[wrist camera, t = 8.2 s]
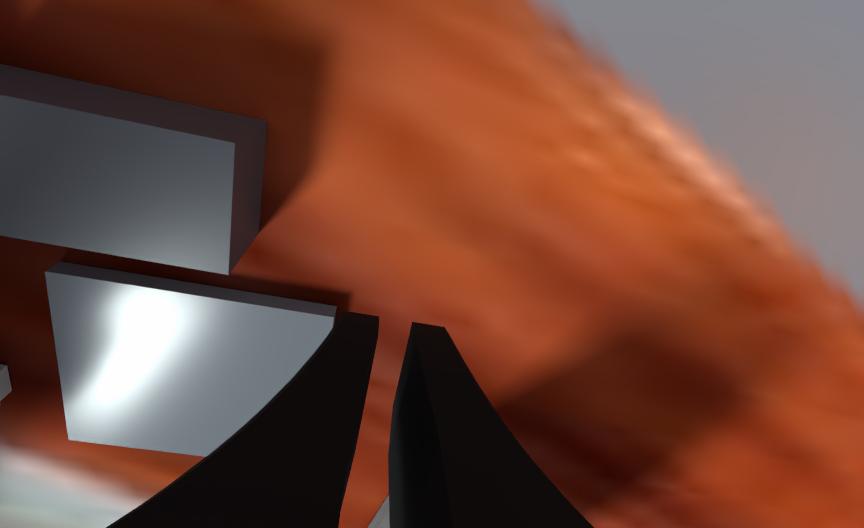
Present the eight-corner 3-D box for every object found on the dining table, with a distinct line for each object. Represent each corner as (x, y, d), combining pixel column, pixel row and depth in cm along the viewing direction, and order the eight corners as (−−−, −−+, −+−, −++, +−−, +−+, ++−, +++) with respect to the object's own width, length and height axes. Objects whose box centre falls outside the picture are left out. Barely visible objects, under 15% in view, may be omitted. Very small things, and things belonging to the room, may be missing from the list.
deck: (314, 455, 23) (311, 469, 22) (80, 425, 21) (68, 439, 21) (337, 306, 19) (334, 317, 18) (59, 261, 18) (44, 271, 17)
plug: (260, 230, 18) (228, 275, 15) (21, 186, 17) (-68, 223, 14) (269, 119, 16) (234, 142, 13) (3, 62, 15) (-102, 73, 12)
